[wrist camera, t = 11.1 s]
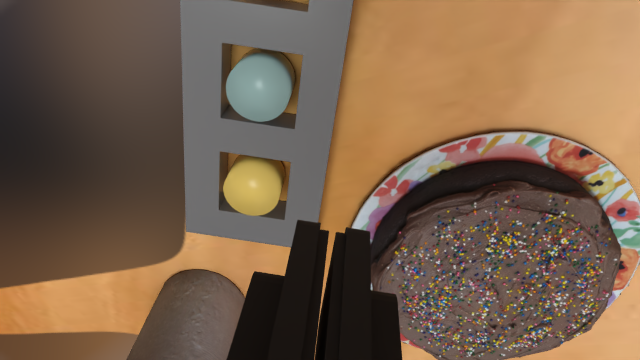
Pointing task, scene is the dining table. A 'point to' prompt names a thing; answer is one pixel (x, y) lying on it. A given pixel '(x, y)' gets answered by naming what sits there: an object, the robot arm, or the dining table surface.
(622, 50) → the dining table surface
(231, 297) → the pillar candle
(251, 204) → the mustard button
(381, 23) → the dining table surface
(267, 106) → the teal button
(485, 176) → the chocolate cake
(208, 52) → the console
